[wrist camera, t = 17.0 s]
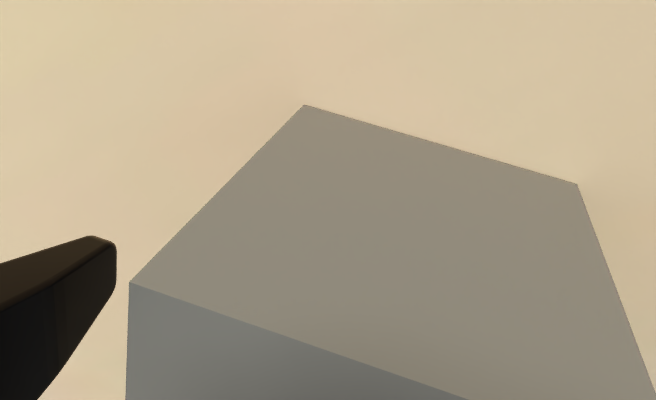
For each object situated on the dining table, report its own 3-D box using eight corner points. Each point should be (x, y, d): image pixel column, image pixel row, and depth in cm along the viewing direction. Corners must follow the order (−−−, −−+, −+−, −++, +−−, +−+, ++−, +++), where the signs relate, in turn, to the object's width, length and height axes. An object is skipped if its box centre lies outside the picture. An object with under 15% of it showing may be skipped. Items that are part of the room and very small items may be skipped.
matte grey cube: (478, 382, 18) (477, 712, 11) (264, 309, 19) (120, 564, 11) (577, 184, 14) (686, 474, 7) (304, 104, 15) (129, 281, 8)
